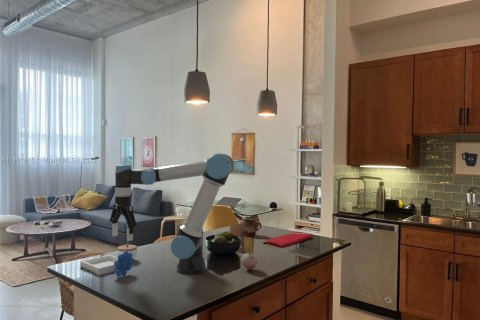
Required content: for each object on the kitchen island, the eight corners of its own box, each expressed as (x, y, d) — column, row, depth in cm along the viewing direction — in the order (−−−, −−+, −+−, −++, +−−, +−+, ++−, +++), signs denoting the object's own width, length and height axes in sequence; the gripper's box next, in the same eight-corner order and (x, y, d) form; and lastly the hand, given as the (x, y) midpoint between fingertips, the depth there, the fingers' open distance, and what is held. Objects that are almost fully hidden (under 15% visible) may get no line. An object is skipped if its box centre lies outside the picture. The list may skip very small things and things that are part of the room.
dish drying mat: (262, 244, 247) (262, 239, 247) (295, 235, 277) (295, 230, 277) (280, 248, 236) (280, 243, 236) (313, 238, 266) (313, 233, 266)
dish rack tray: (128, 267, 191) (128, 261, 191) (98, 275, 178) (98, 268, 178) (109, 260, 203) (109, 254, 203) (80, 267, 190) (80, 261, 190)
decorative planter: (266, 236, 272) (266, 217, 272) (257, 239, 262) (257, 220, 262) (244, 232, 283) (244, 215, 283) (235, 235, 273) (235, 217, 273)
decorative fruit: (238, 268, 192) (238, 249, 192) (252, 266, 195) (253, 248, 195) (245, 273, 183) (245, 254, 183) (259, 272, 186) (260, 252, 186)
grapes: (127, 271, 185) (127, 248, 185) (136, 273, 182) (136, 250, 182) (108, 277, 176) (108, 252, 176) (116, 279, 172) (117, 255, 172)
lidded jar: (131, 263, 198) (131, 246, 198) (113, 262, 200) (113, 245, 200) (140, 258, 209) (140, 242, 209) (123, 257, 211) (123, 241, 211)
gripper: (144, 197, 173) (143, 241, 173) (116, 193, 189) (115, 233, 189) (130, 198, 168) (129, 243, 168) (103, 194, 184) (102, 235, 184)
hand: (122, 238), depth 179 cm, fingers open, 13 cm apart
